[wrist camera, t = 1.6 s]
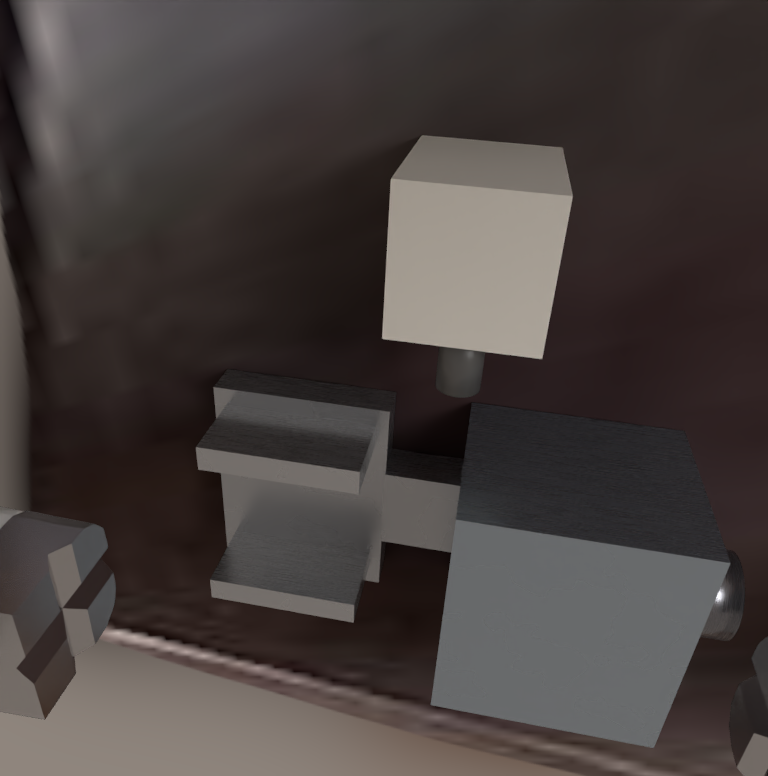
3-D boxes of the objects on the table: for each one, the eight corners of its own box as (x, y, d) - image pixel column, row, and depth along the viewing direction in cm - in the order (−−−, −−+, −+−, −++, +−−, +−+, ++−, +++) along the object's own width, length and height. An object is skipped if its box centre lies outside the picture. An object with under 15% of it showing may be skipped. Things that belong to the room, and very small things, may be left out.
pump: (408, 317, 26) (378, 399, 21) (421, 135, 23) (390, 178, 17) (530, 332, 25) (530, 419, 20) (562, 147, 22) (573, 196, 17)
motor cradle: (239, 534, 33) (176, 655, 27) (227, 369, 28) (147, 470, 22) (676, 607, 30) (712, 759, 24) (740, 439, 26) (803, 574, 20)
